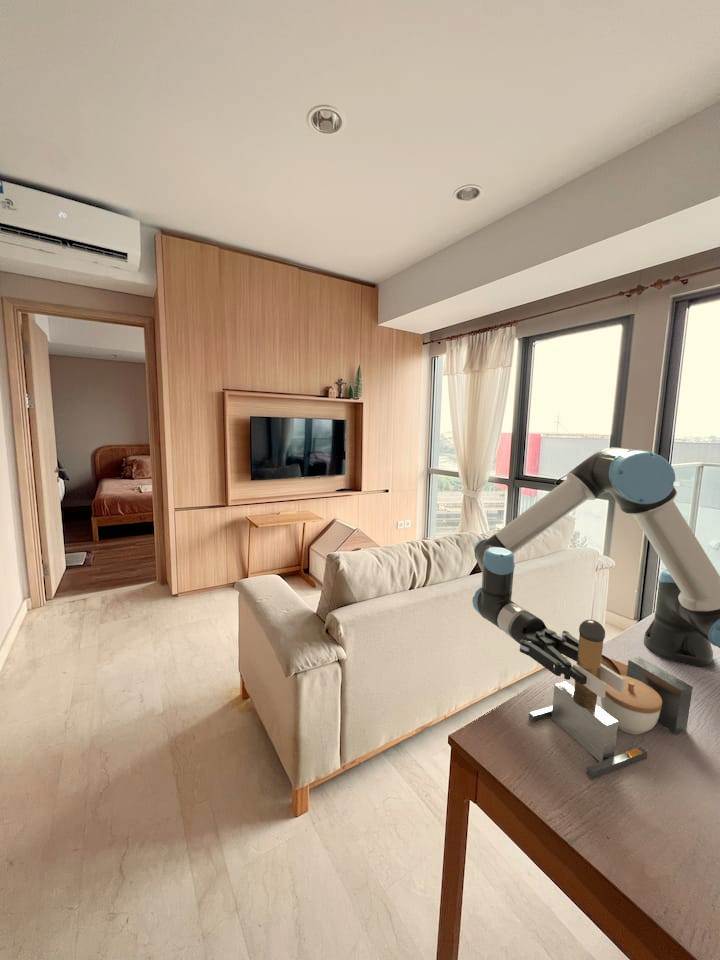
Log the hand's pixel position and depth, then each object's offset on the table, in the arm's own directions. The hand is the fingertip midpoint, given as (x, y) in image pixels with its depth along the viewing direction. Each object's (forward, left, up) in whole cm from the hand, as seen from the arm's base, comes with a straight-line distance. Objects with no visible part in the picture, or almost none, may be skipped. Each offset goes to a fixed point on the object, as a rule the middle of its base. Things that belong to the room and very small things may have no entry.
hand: (613, 688), depth 72 cm
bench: (-8, -5, -15) cm, 18 cm away
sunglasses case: (-26, -14, -16) cm, 33 cm away
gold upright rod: (0, -5, -15) cm, 16 cm away
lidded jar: (-13, -5, -15) cm, 21 cm away
